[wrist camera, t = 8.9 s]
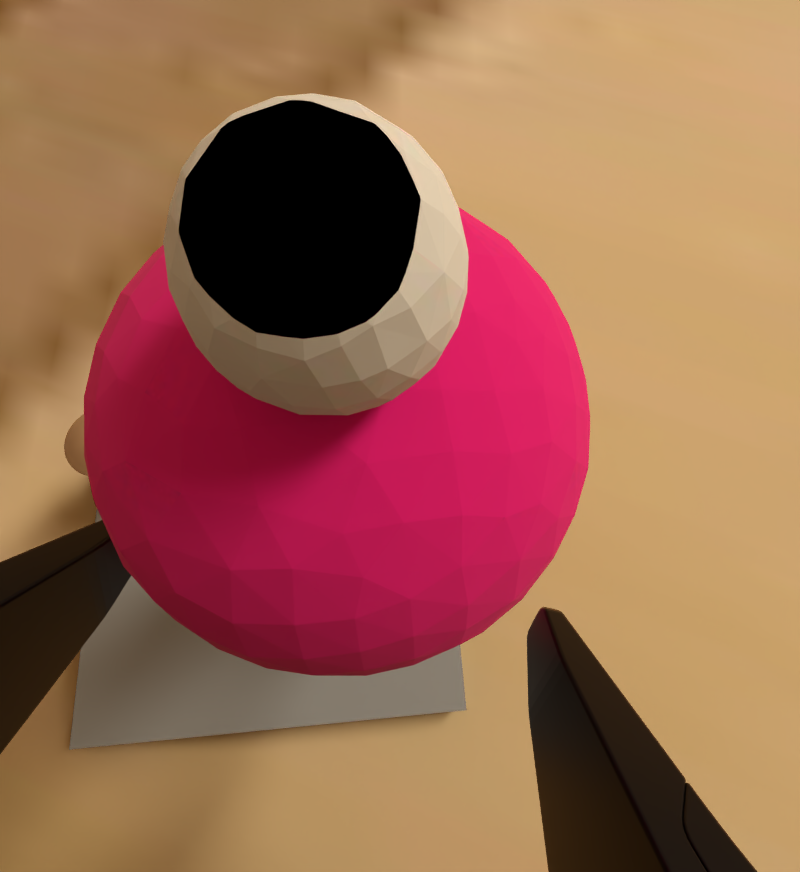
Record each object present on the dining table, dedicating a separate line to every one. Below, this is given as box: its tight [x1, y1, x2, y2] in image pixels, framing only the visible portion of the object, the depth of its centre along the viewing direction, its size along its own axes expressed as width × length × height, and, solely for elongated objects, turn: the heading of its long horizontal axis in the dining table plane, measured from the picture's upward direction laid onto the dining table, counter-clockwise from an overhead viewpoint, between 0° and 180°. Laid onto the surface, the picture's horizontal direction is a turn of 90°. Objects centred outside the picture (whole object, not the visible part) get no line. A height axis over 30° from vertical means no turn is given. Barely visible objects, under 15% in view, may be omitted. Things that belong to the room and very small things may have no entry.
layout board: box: [64, 414, 466, 750], centre depth 19 cm, size 17×18×6 cm
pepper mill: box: [84, 93, 590, 676], centre depth 11 cm, size 7×7×20 cm
